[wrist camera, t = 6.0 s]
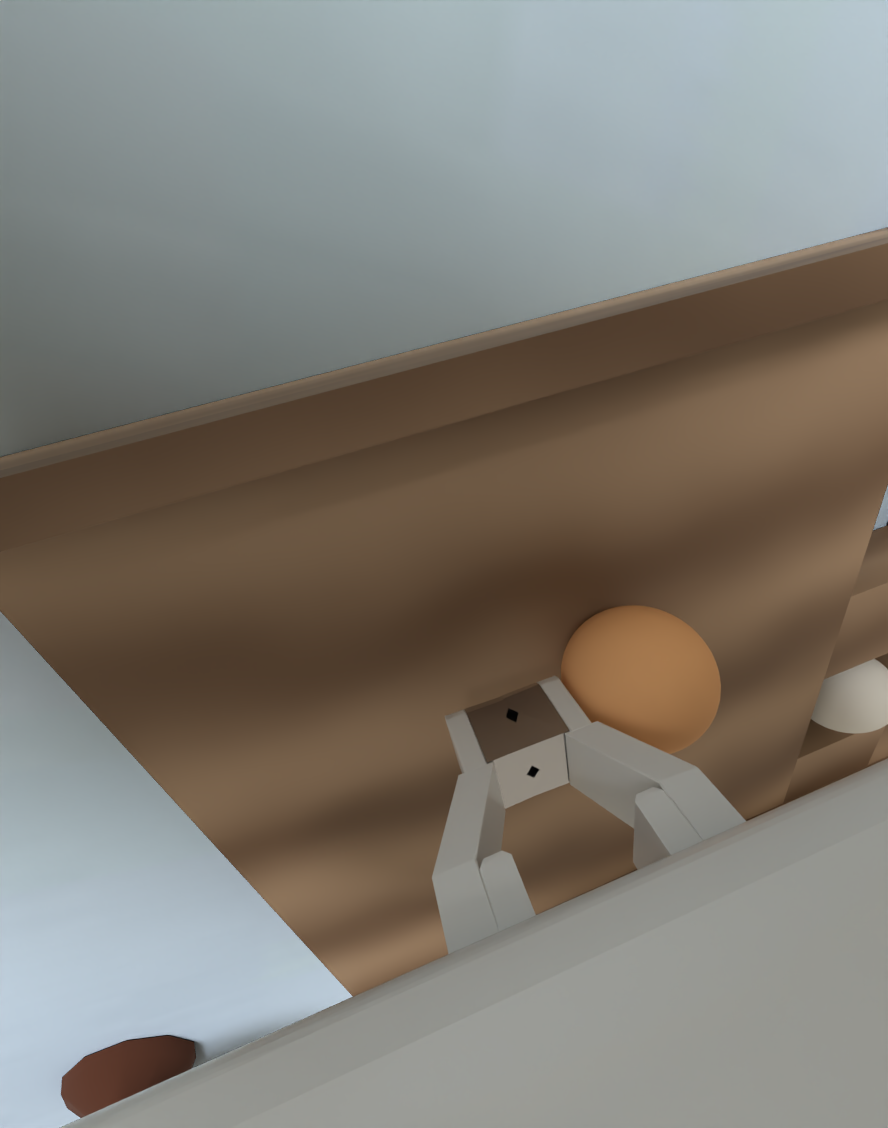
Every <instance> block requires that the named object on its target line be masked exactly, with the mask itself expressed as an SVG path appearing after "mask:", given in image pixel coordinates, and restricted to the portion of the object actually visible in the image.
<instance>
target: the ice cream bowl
mask: <svg viewBox="0 0 888 1128" xmlns="http://www.w3.org/2000/svg"><path fill="white" fill-rule="evenodd" d="M195 1058H196V1053H195V1045H194V1042H192V1041H188V1040H184V1039H180V1038H176V1037H172V1036H160V1037H153V1038H145V1039H137V1040H130V1041H125V1042H122V1043H119V1044H117V1045H114V1046H112V1047H109V1048H107V1049H104V1050H102V1051H99V1052H96V1053H94V1054H91V1055H89V1056H86V1057H84V1058H83V1059H82V1060H81V1061H80V1062H79V1063H77V1064H76V1065H75V1066H74V1067H73V1068H72V1069H71V1070H70V1071H69V1072H68V1073H66V1074H65V1075H64V1076H63V1077H62V1088H61V1096H62V1098H63V1100H64V1102H65V1104H66V1106H67V1108H68V1109H69V1110H70V1111H72V1112H73V1113H75V1114H76V1115H77V1116H79V1117H80V1118H82V1117H85V1116H87V1115H89V1114H91V1113H94V1112H96V1111H98V1110H100V1109H103V1108H105V1107H107V1106H109V1105H112V1104H114V1103H116V1102H118V1101H121V1100H123V1099H125V1098H127V1097H130V1096H132V1095H134V1094H136V1093H139V1092H141V1091H143V1090H145V1089H148V1088H150V1087H152V1086H154V1085H156V1084H159V1083H161V1082H163V1081H165V1080H168V1079H170V1078H172V1077H174V1076H177V1075H179V1074H181V1073H183V1072H186V1071H188V1070H190V1069H192V1066H193V1064H194V1061H195Z"/></svg>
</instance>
